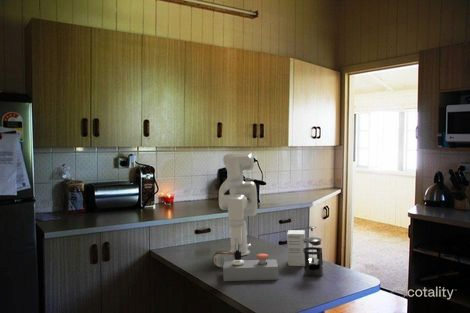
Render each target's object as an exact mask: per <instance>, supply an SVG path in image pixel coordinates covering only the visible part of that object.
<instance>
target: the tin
mask: <svg viewBox="0 0 470 313" xmlns="http://www.w3.org/2000/svg"><path fill="white" fill-rule="evenodd" d="M233 260H235V256H234V252H229V251H226V250H225V251H224V250H219V251H216V252H215V253H214V254H213V256H212V263H213V264H214V265H215V267H217V268H220V269H223V266H224V262H225V261H233Z"/></svg>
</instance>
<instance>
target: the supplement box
mask: <svg viewBox="0 0 470 313" xmlns="http://www.w3.org/2000/svg"><path fill="white" fill-rule="evenodd" d="M304 238H306V230H305V229H300V230H299V229H297V230H296V229H293V230H292V229H291V230H289V229H288V230H287V233H286V243H287V244H286V245H287V266H289V267H290V266H291V267H297V266H299V267H304V266H305V261H304V260H305V253H304V252H303V249H304V248H307V247H306V243H304V241H303V239H304Z"/></svg>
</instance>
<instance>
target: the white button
mask: <svg viewBox="0 0 470 313" xmlns="http://www.w3.org/2000/svg"><path fill="white" fill-rule="evenodd" d="M243 260H244V259H241V260H233V261H232V264H233V265H235V266H241V265H243V264H244V261H243Z"/></svg>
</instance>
